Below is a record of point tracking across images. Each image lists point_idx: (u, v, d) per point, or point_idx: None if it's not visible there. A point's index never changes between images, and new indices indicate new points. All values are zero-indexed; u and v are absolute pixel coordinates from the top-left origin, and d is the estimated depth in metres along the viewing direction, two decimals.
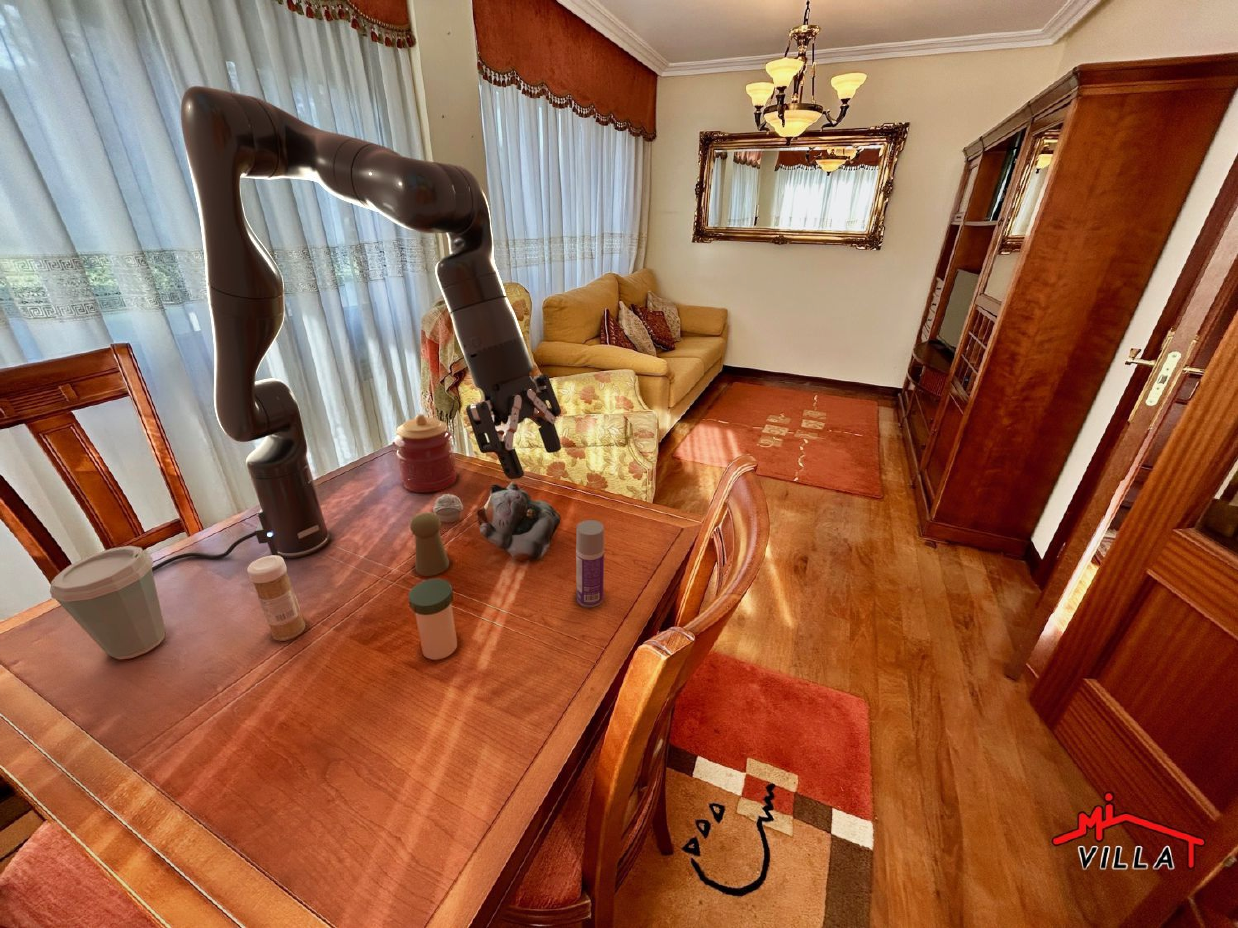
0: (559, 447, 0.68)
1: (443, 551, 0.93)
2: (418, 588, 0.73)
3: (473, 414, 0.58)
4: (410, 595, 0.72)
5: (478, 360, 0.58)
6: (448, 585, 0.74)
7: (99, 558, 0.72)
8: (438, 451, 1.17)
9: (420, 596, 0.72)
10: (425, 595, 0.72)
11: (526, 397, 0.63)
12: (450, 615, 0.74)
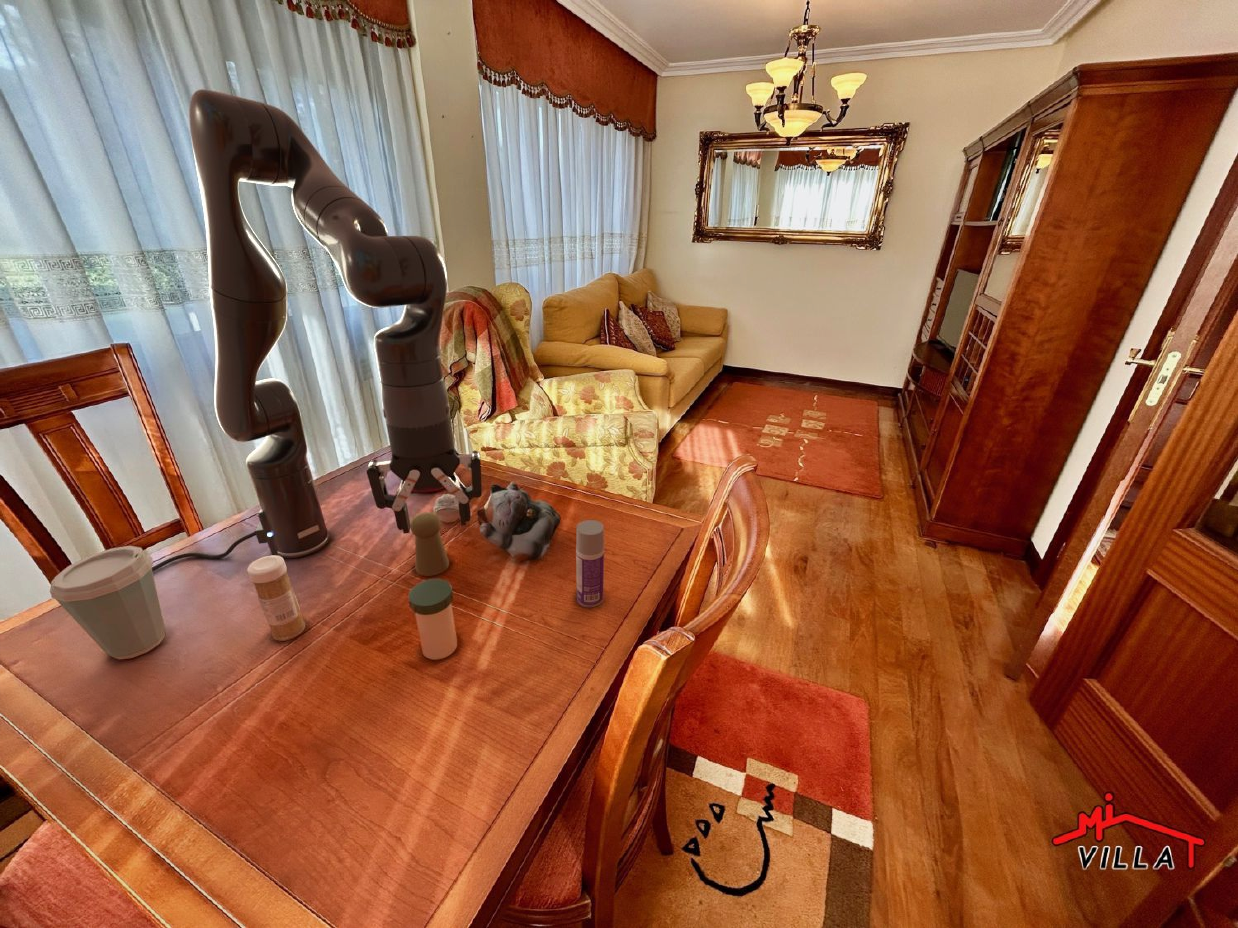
0: (462, 524, 0.69)
1: (443, 551, 0.93)
2: (418, 588, 0.73)
3: None
4: (410, 595, 0.72)
5: None
6: (448, 585, 0.74)
7: (99, 558, 0.72)
8: None
9: (420, 596, 0.72)
10: (425, 595, 0.72)
11: None
12: (450, 615, 0.74)
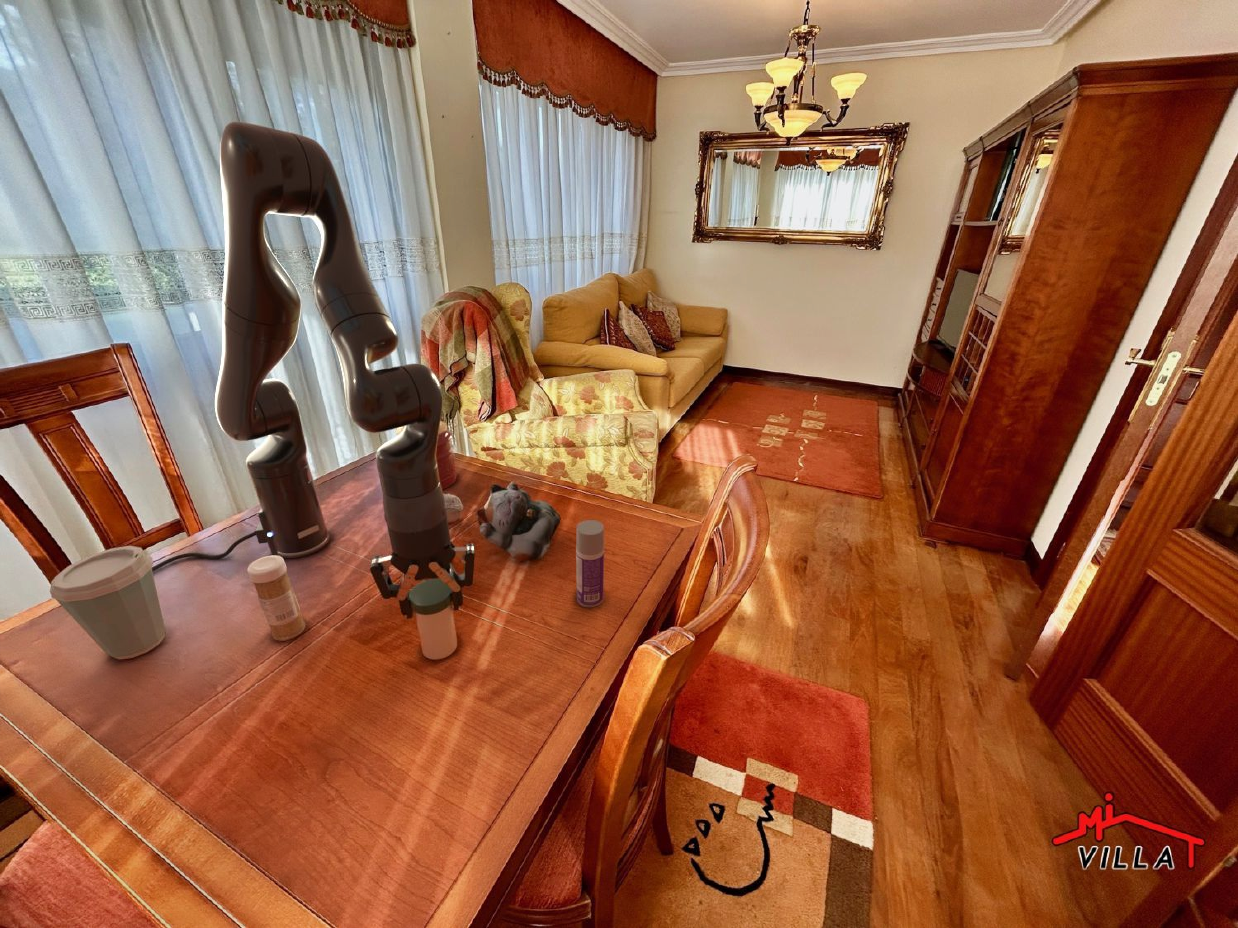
0: (455, 609, 0.74)
1: None
2: (418, 588, 0.73)
3: None
4: (410, 595, 0.72)
5: None
6: None
7: (99, 558, 0.72)
8: (438, 451, 1.17)
9: (420, 596, 0.72)
10: (425, 595, 0.72)
11: None
12: (450, 615, 0.74)
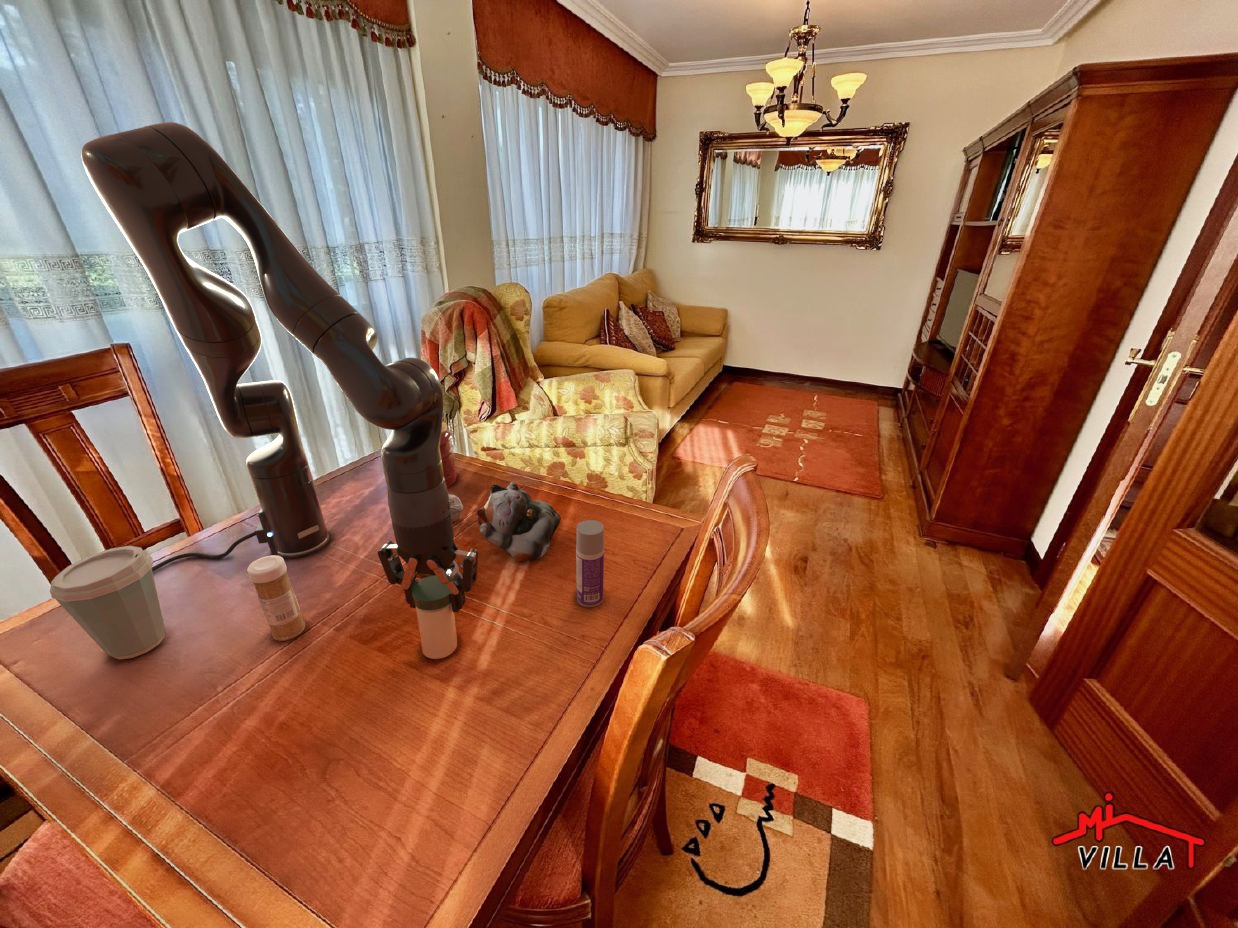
0: None
1: None
2: (441, 594, 0.72)
3: (474, 562, 0.70)
4: None
5: (449, 519, 0.68)
6: (414, 589, 0.72)
7: (99, 558, 0.72)
8: None
9: (444, 585, 0.73)
10: (439, 585, 0.73)
11: None
12: (451, 614, 0.74)
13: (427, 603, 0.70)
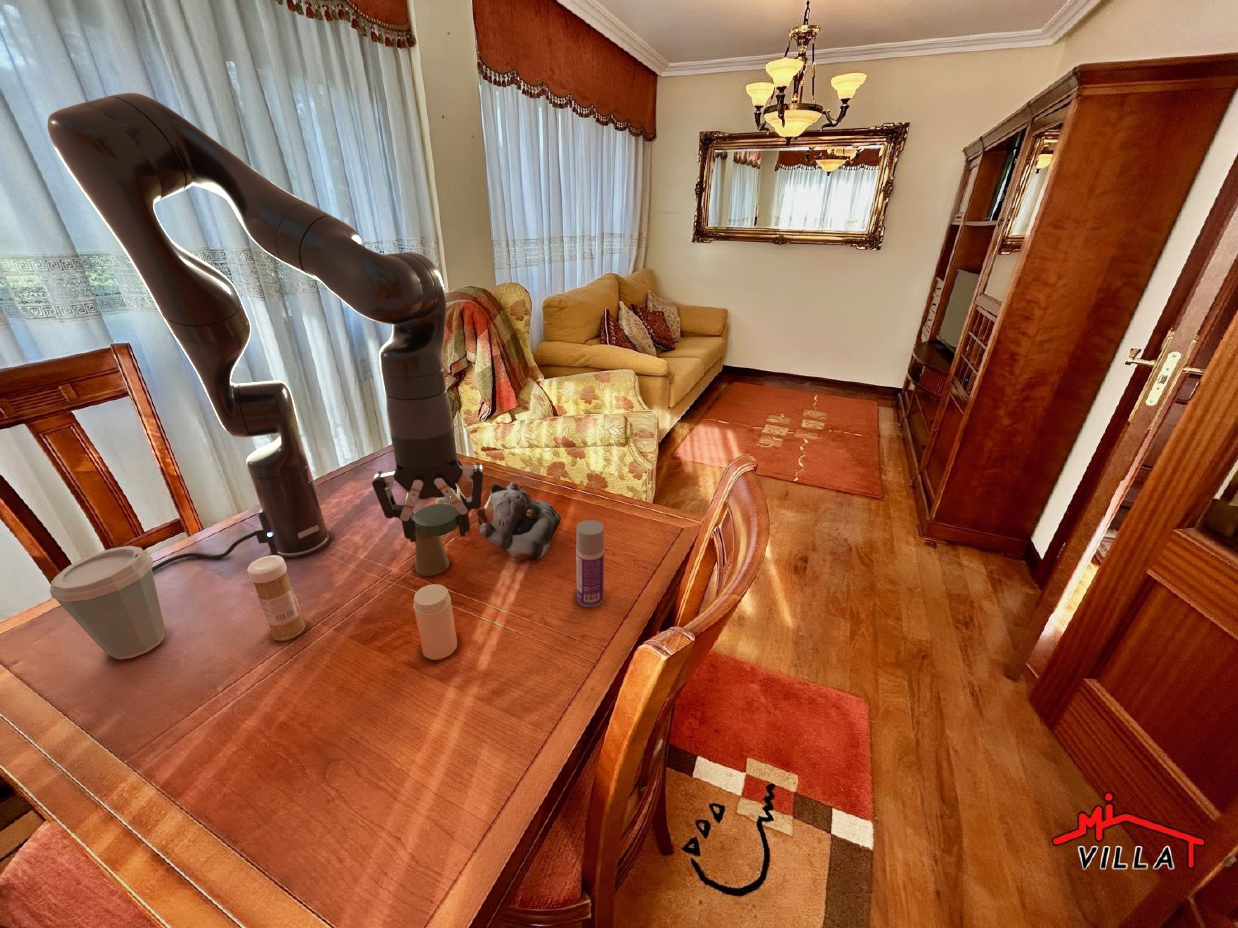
0: None
1: (443, 551, 0.93)
2: (448, 517, 0.68)
3: None
4: (455, 511, 0.69)
5: None
6: (415, 519, 0.67)
7: (99, 558, 0.72)
8: None
9: (445, 510, 0.70)
10: (440, 511, 0.69)
11: None
12: (450, 615, 0.74)
13: (437, 528, 0.66)
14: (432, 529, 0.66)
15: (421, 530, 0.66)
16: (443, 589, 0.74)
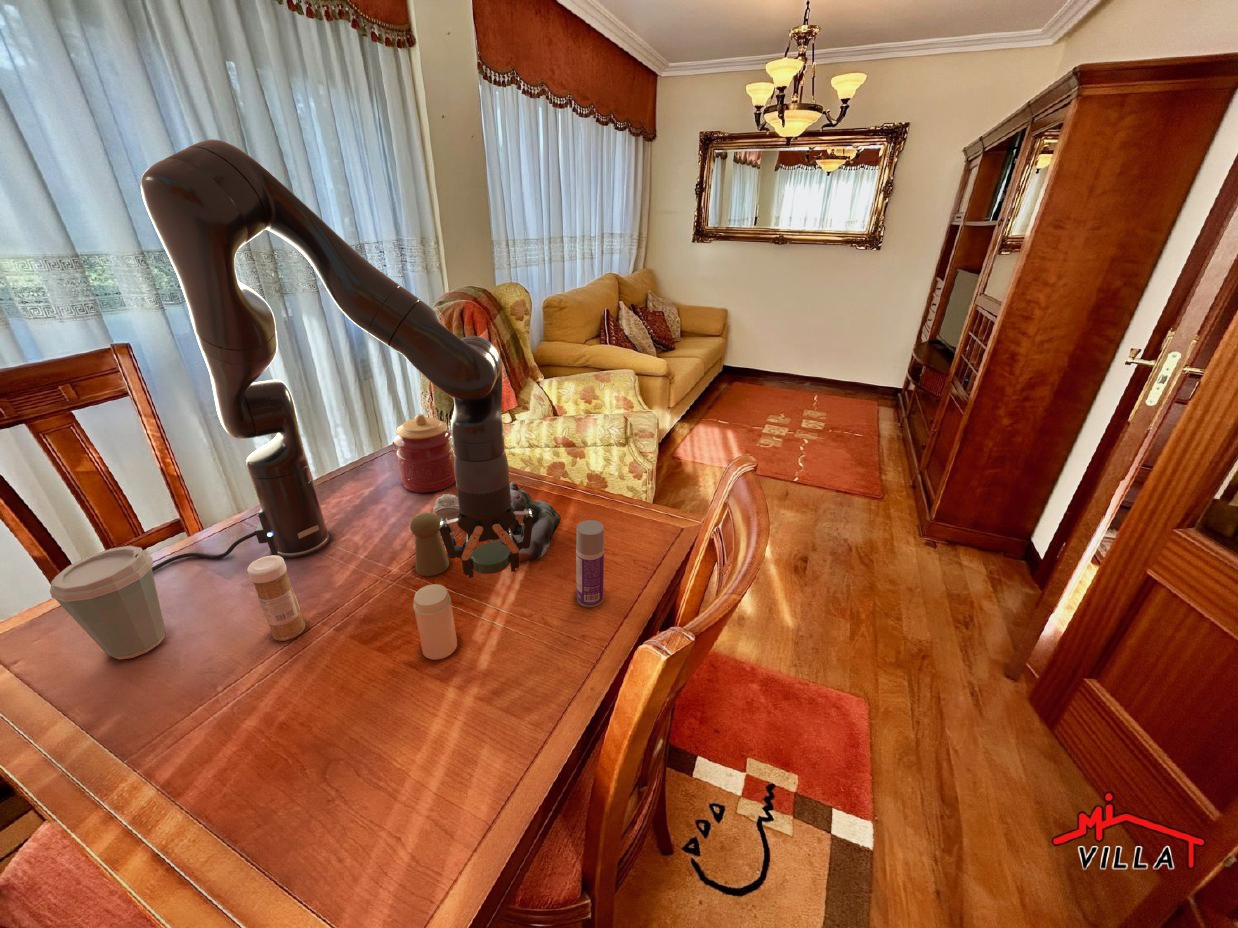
0: None
1: (443, 551, 0.93)
2: (502, 556, 0.78)
3: None
4: (507, 550, 0.79)
5: None
6: (474, 558, 0.77)
7: (99, 558, 0.72)
8: (438, 451, 1.17)
9: (498, 549, 0.79)
10: (494, 550, 0.79)
11: None
12: (450, 615, 0.74)
13: (494, 566, 0.76)
14: (489, 567, 0.76)
15: (480, 568, 0.76)
16: (443, 589, 0.74)
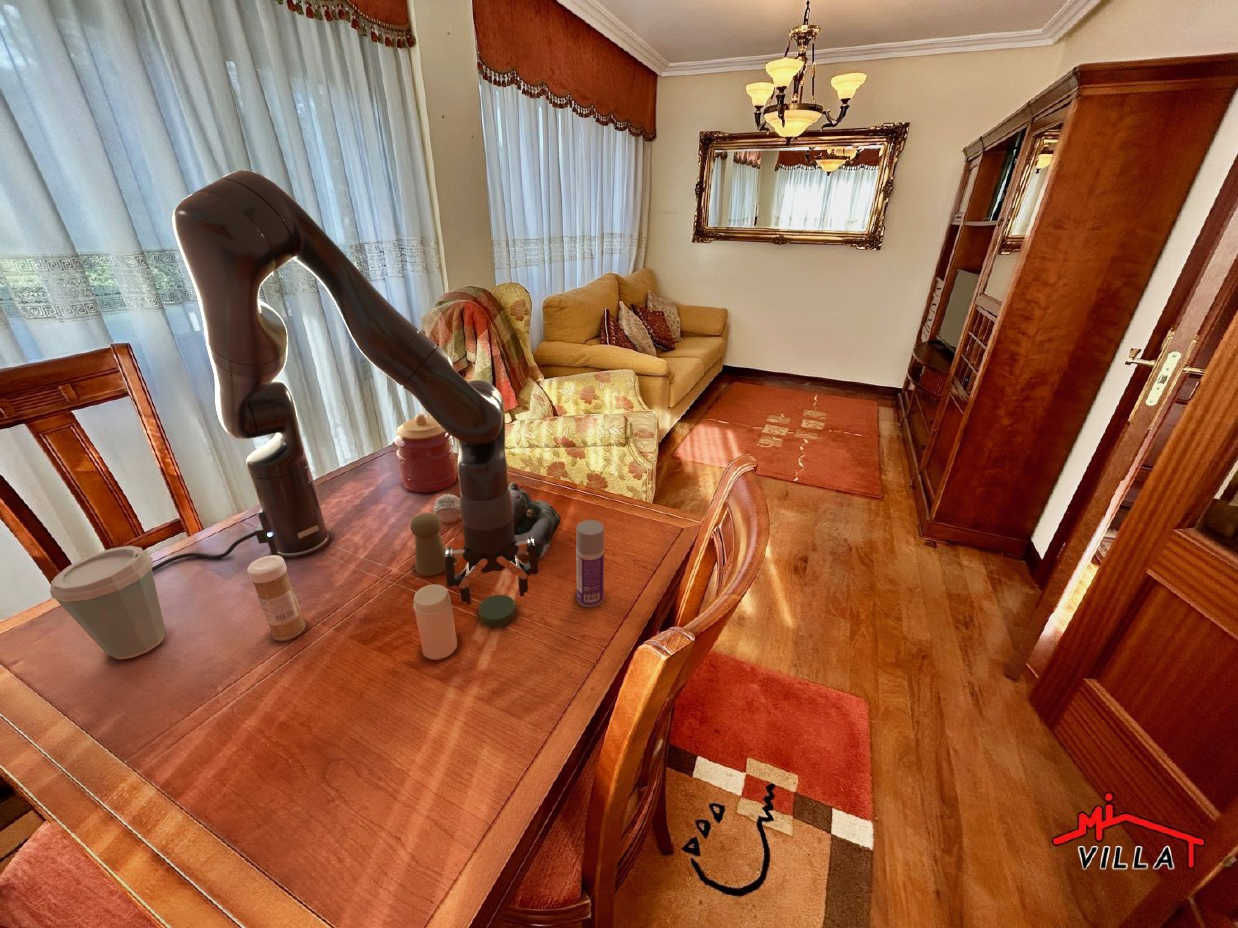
0: None
1: (443, 551, 0.93)
2: (507, 609, 0.83)
3: None
4: (513, 603, 0.84)
5: None
6: (481, 612, 0.82)
7: (99, 558, 0.72)
8: (438, 451, 1.17)
9: (504, 602, 0.84)
10: (500, 603, 0.84)
11: None
12: (450, 615, 0.74)
13: (500, 620, 0.81)
14: (496, 621, 0.81)
15: (487, 622, 0.81)
16: (443, 589, 0.74)
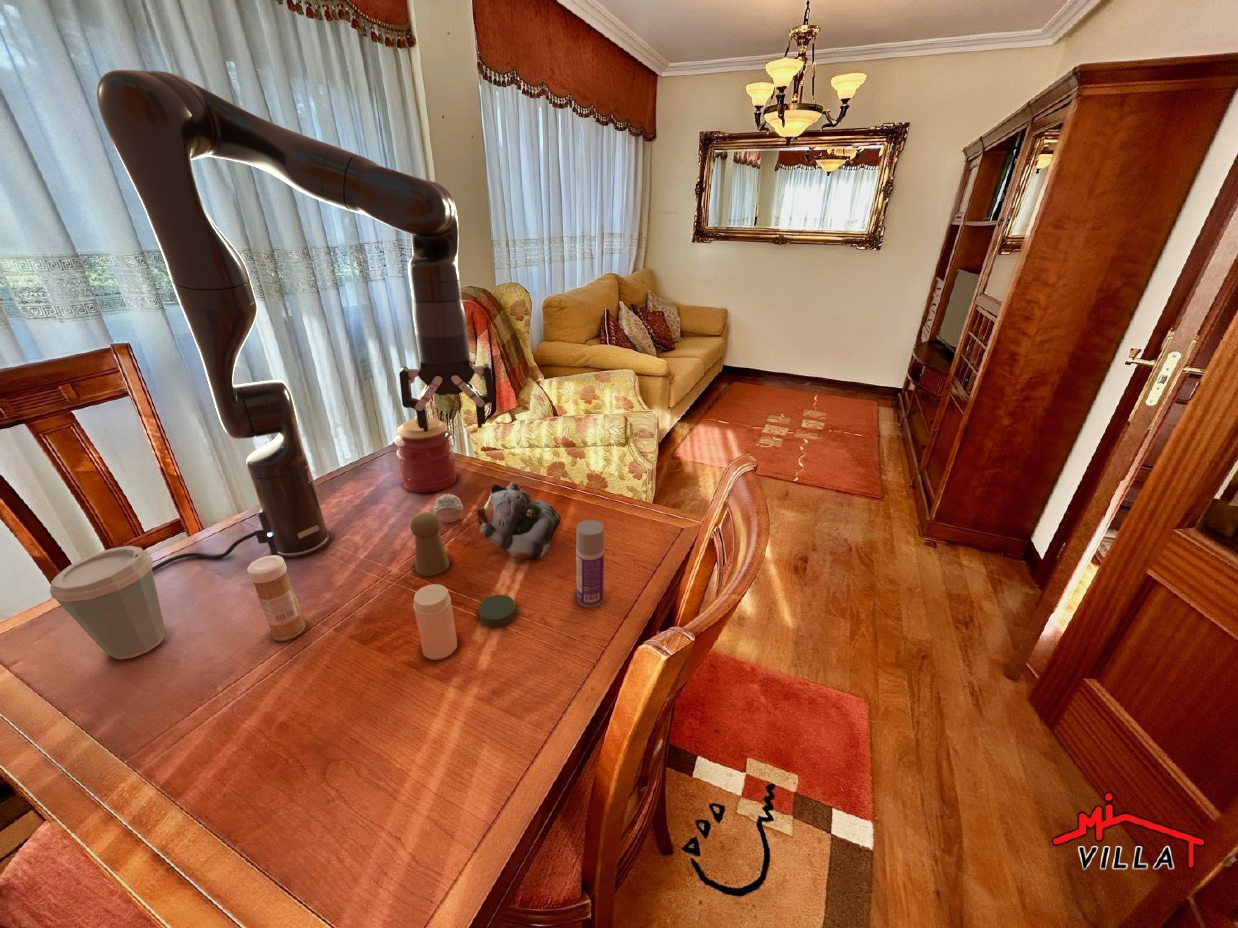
0: None
1: (443, 551, 0.93)
2: (507, 609, 0.83)
3: None
4: (513, 603, 0.84)
5: None
6: (481, 612, 0.82)
7: (99, 558, 0.72)
8: (438, 451, 1.17)
9: (504, 602, 0.84)
10: (500, 603, 0.84)
11: None
12: (450, 615, 0.74)
13: (500, 620, 0.81)
14: (496, 621, 0.81)
15: (487, 622, 0.81)
16: (443, 589, 0.74)
